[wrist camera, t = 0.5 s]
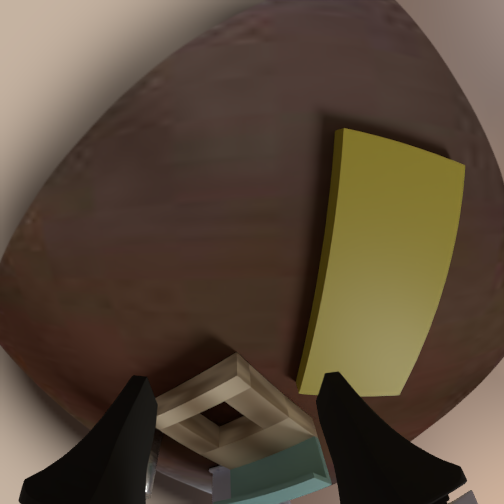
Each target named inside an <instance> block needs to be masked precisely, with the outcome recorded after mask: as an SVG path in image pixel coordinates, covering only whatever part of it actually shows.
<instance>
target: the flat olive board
mask: <svg viewBox="0 0 504 504" xmlns="http://www.w3.org/2000/svg"><path fill="white" fill-rule="evenodd" d="M464 175H465V165H463V164H460V163H458V162H455V161H453V160H450V159H448V158H445V157H442V156H440V155H437V154H434V153H431V152H428V151H426V150H423V149H420V148H417V147H414V146H410V145H407V144H404V143H401V142H397V141H394V140H390V139H387V138H383V137H379V136H376V135H372V134H368V133H364V132H360V131H355V130H351V129H346V128H342V129H339V130H337V131H335V138H334V151H333V163H332V174H331V183H330V193H329V201H328V210H327V218H326V225H325V233H324V240H323V247H322V253H321V260H320V266H319V272H318V278H317V284H316V289H315V295H314V300H313V305H312V311H311V316H310V321H309V326H308V330H307V335H306V340H305V344H304V349H303V353H302V358H301V362H300V366H299V371H298V375H297V379H296V385H297V388H298V392H299V394H309V395H318V394H319V390H320V387H321V384H322V381H323V378H324V374H325V373H330V372H337V371H339V372H340V373H341V374H342V376H343V377H344V378H345V379H346V380H347V382H348V383H349V384H350V385H351V386H352V388H353V389H354V390H355V391H356V392H357V394H358V395H359V396H392V395H399V394H400V392H401V391H402V389H403V387H404V385H405V383H406V381H407V379H408V377H409V375H410V373H411V371H412V369H413V366H414V364H415V362H416V360H417V358H418V355H419V353H420V351H421V348H422V346H423V344H424V341H425V339H426V336H427V334H428V331H429V329H430V326H431V323H432V321H433V318H434V315H435V312H436V309H437V306H438V303H439V300H440V297H441V294H442V291H443V287H444V284H445V280H446V277H447V273H448V269H449V265H450V261H451V257H452V253H453V248H454V244H455V239H456V234H457V229H458V223H459V217H460V210H461V203H462V195H463V186H464Z"/></svg>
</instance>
